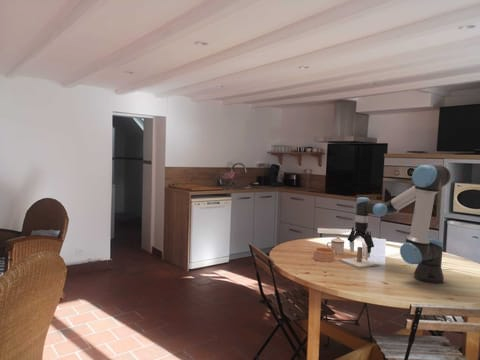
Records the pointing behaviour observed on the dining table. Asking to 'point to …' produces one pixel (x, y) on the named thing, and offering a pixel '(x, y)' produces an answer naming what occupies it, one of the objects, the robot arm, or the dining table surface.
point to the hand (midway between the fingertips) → (359, 254)
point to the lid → (359, 260)
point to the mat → (357, 267)
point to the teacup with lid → (337, 245)
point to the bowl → (324, 254)
